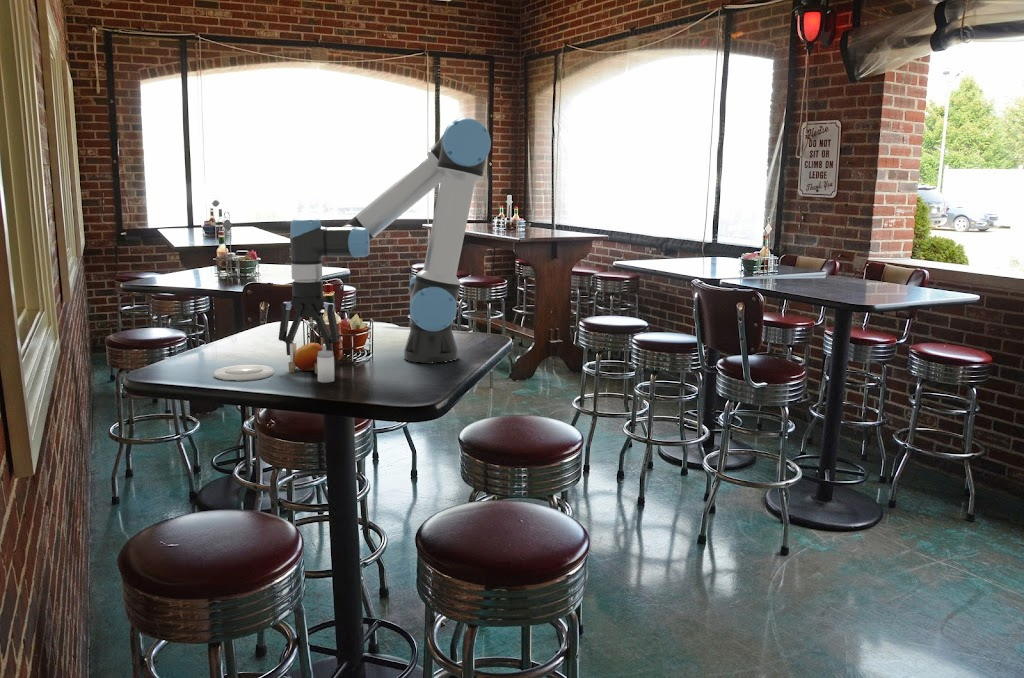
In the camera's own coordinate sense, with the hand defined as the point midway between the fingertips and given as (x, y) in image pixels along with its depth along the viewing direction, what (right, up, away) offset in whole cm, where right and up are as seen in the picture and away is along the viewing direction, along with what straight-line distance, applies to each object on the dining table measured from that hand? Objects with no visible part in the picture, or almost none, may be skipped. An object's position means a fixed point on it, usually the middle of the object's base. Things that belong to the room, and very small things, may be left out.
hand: (310, 368), depth 210 cm
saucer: (-15, -1, -7) cm, 16 cm away
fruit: (0, -1, 0) cm, 1 cm away
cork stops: (0, 0, 0) cm, 0 cm away
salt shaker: (+7, -3, -11) cm, 13 cm away
